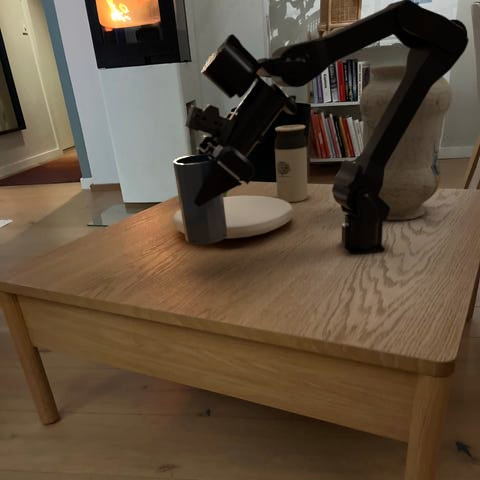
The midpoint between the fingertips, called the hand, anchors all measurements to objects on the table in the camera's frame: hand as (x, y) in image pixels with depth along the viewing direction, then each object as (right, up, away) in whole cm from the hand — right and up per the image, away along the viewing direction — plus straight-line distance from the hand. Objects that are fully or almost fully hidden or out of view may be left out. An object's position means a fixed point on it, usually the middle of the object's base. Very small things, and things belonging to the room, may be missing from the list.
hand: (192, 199), depth 78 cm
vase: (+43, +4, +30) cm, 53 cm away
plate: (+7, +1, +29) cm, 30 cm away
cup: (+2, -6, +4) cm, 7 cm away
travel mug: (+22, +12, +48) cm, 55 cm away
